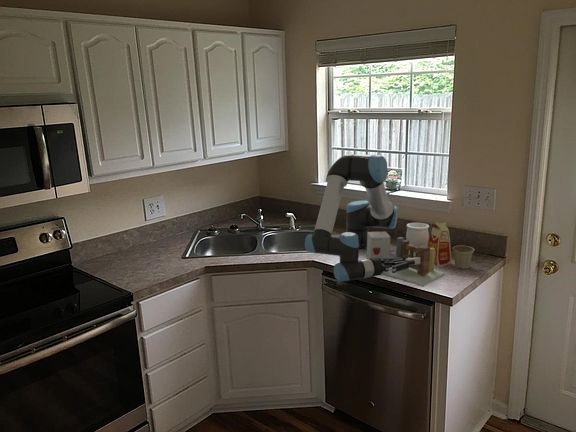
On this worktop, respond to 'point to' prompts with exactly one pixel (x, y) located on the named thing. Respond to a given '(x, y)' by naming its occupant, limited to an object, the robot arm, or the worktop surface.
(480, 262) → the worktop surface
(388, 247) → the supplement box
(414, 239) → the jar
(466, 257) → the flower pot
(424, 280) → the gate frame
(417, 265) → the gate
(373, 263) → the robot arm
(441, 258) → the milk carton
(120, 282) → the worktop surface
